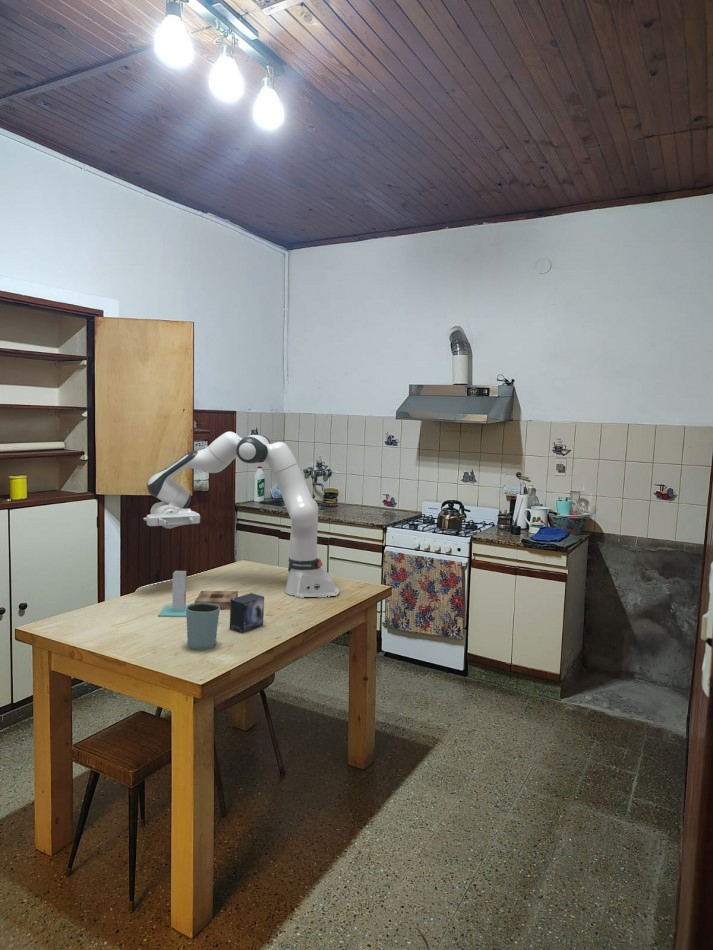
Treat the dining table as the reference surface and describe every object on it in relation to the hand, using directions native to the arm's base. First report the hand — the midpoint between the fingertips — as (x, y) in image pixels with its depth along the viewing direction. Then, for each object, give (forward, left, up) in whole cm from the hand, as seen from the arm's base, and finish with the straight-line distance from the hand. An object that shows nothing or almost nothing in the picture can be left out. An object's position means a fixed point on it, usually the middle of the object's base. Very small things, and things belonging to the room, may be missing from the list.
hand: (178, 522), depth 233 cm
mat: (-4, +15, -30) cm, 34 cm away
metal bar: (-4, +15, -29) cm, 33 cm away
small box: (-30, +31, -30) cm, 53 cm away
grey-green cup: (-18, +47, -30) cm, 59 cm away
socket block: (-16, +5, -30) cm, 34 cm away
